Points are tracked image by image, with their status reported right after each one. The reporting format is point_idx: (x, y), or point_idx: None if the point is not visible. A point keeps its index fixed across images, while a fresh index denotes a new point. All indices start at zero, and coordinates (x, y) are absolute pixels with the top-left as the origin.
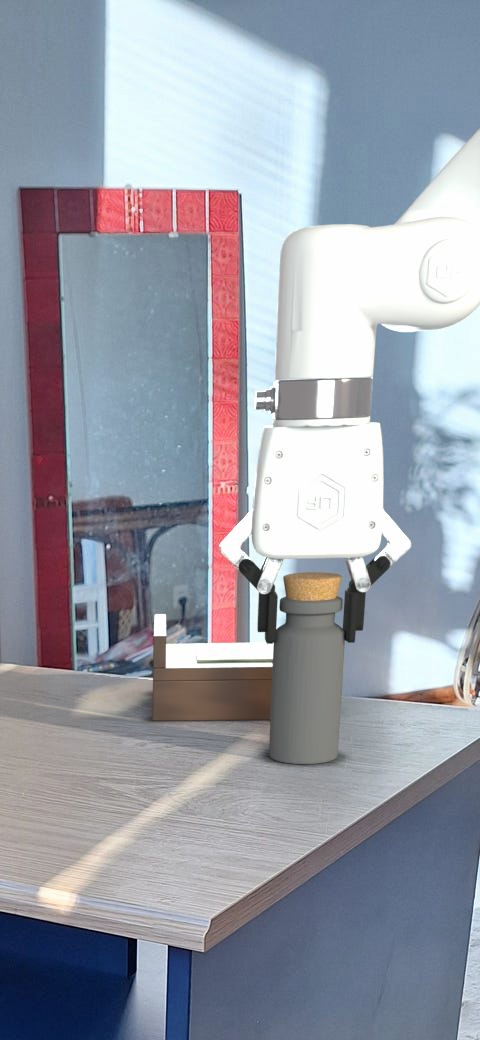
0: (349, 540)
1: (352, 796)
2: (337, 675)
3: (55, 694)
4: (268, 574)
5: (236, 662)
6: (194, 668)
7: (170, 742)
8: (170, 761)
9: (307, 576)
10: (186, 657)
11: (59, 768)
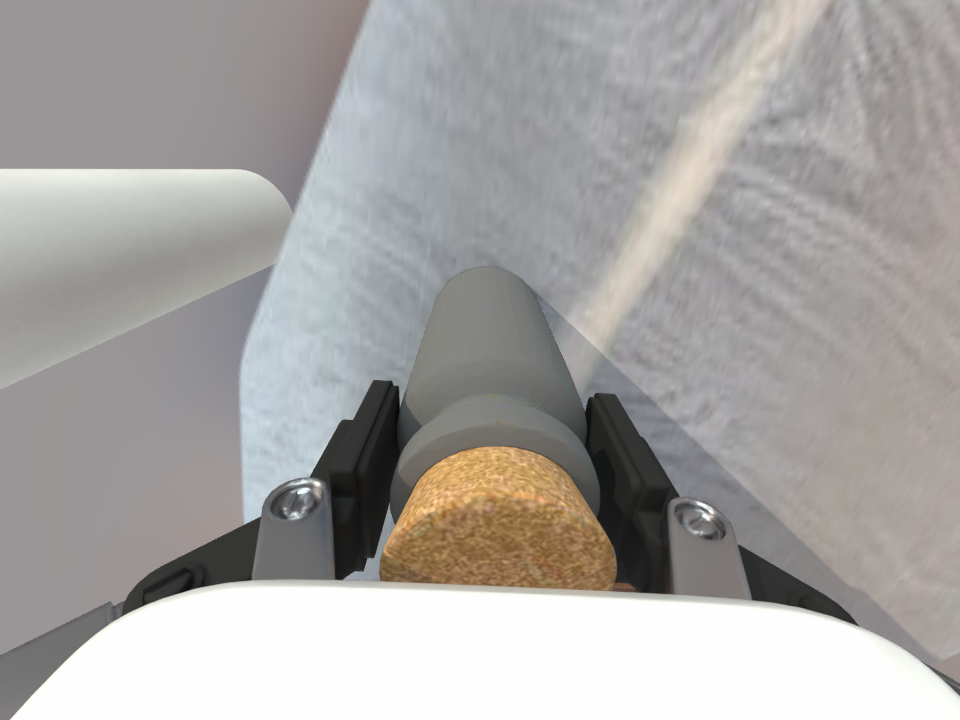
0: (273, 690)
1: (443, 3)
2: (429, 336)
3: None
4: (710, 564)
5: None
6: (617, 586)
7: (658, 420)
8: (696, 311)
9: (524, 565)
10: None
11: (886, 282)
